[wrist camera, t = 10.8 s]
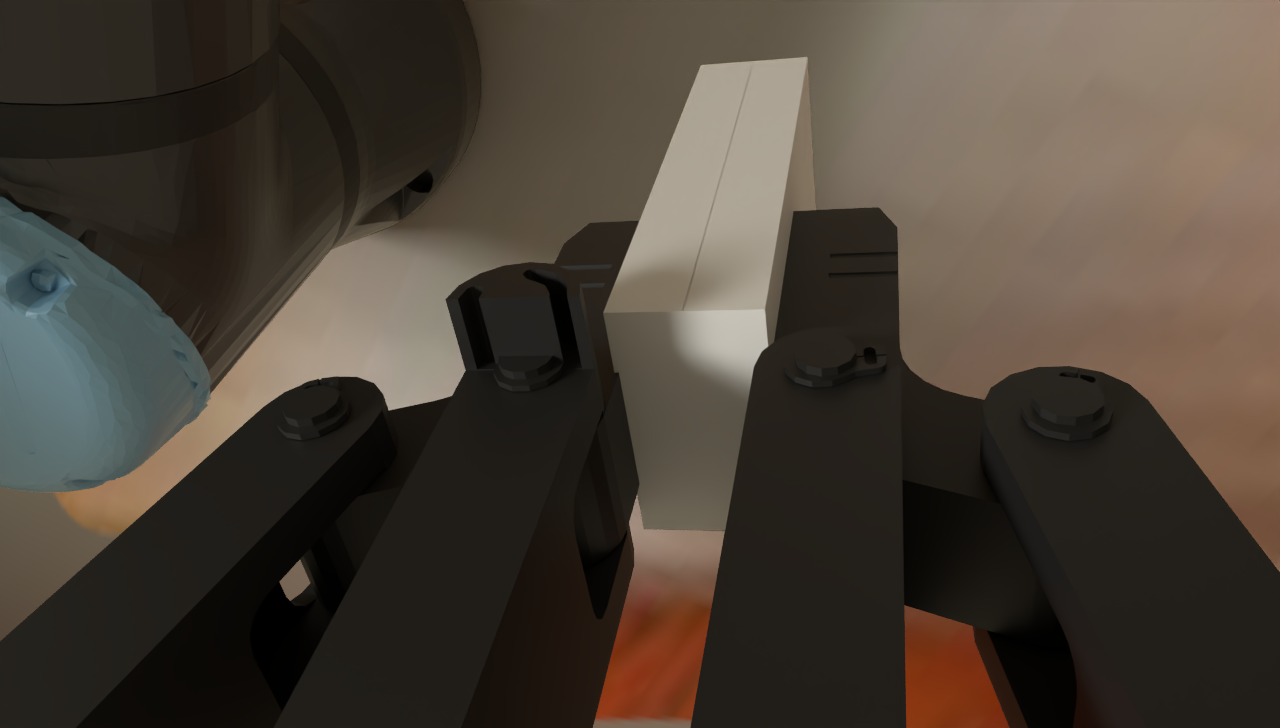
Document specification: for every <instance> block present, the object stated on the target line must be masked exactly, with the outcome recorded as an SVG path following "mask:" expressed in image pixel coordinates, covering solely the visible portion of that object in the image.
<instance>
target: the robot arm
mask: <svg viewBox="0 0 1280 728" xmlns="http://www.w3.org/2000/svg"><path fill="white" fill-rule="evenodd" d="M480 93H481V75H480V63H479V55H478V50H477V45H476V40H475V36H474V33H473V29H472V26H471V23H470V20H469V17H468V14H467V11H466V9H465V7H464V4H463V2H462V0H0V486H1V487H5V488H10V489H15V490H23V491H33V492H70V491H77V490H83V489H89V488H94V487H97V486H99V485H102V484H104V483H105V482H106V481H109V480H115V479H116V478H120V477H123V476H125V475H127V474H129V473H131V472H132V471H134V470H135V469H136V468H138V467H139V466H141V465H142V464H143V463H144V462H145V461H147V460H148V459H149V458H150V457H151V456H152V455H153V454H154V453H155V452H156V451H158V450H159V449H160V448H161V447H162V446H163V445H164V444H165V443H166V442H168V441H169V440H170V439H171V438H172V437H173V436H174V435H175V434H176V433H177V432H179V431H180V430H181V429H182V428H183V427H184V426H185V425H187V424H189V423H191V422H192V421H194V420H195V419H196V418H197V417H198V416H199V414H200V413H201V412H202V411H203V410H204V409H205V408H206V407H207V403H206V402H207V401H208V400H209V399H211V398H210V394H211V392H212V391H213V390H214V389H215V388H216V387H217V385H218V384H219V383H220V382H221V381H222V379H223V378H224V377H225V376H226V375H227V373H228V372H229V371H230V370H231V369H232V367H233V366H234V365H235V364H236V363H237V361H238V360H239V359H240V358H241V357H242V355H243V354H244V353H245V352H246V351H247V350H248V348H249V347H250V346H251V345H252V344H253V342H254V341H255V340H256V339H257V338H258V336H259V335H260V334H261V333H262V332H263V330H264V329H265V328H266V327H267V326H268V324H269V323H270V322H271V321H272V320H273V319H274V317H275V316H276V315H277V314H278V313H279V311H280V310H281V309H282V308H283V307H284V305H285V304H286V303H287V302H288V301H289V299H290V298H291V297H292V296H293V295H294V293H295V292H296V291H297V290H298V289H299V287H300V286H301V285H302V284H303V283H304V282H305V280H306V279H307V278H308V277H309V276H310V274H311V273H312V272H313V271H314V270H315V268H316V267H317V266H318V265H319V264H320V262H321V261H322V260H323V259H324V257H325V256H326V255H327V254H328V252H329V251H330V250H331V249H333V248H336V247H339V246H341V245H344V244H347V243H349V242H352V241H354V240H357V239H360V238H362V237H365V236H368V235H370V234H373V233H376V232H378V231H381V230H383V229H386V228H388V227H390V226H393V225H395V224H397V223H398V222H400V221H402V220H404V219H405V218H407V217H408V216H410V215H411V214H413V213H414V212H415V211H417V210H418V209H419V208H420V207H422V206H423V205H424V204H425V203H426V202H427V201H428V200H429V199H430V198H431V197H432V196H433V195H434V194H435V193H436V192H437V191H438V189H439V188H440V187H441V186H442V184H443V183H444V182H445V180H446V179H447V178H448V176H449V175H450V174H451V172H452V171H453V170H454V168H455V167H456V166H457V164H458V163H459V161H460V160H461V158H462V156H463V154H464V153H465V151H466V149H467V147H468V144H469V142H470V140H471V137H472V134H473V132H474V128H475V125H476V121H477V116H478V111H479V104H480ZM446 302H447V306H448V309H449V313H450V316H451V320H452V323H453V327H454V330H455V334H456V337H457V341H458V345H459V348H460V352H461V355H462V359H463V362H464V366H465V369H466V371H465V373H464V375H463V377H462V379H461V381H460V382H459V384H458V386H457V388H456V390H455V392H454V394H453V395H452V396H451V397H447V398H444V399H440V400H437V401H433V402H428V403H423V404H418V405H414V406H409V407H404V408H399V409H395V410H390V411H389V410H388V407H387V405H386V402H385V399H384V396H383V394H382V393H381V391H380V390H379V389H378V387H377V386H376V385H375V384H374V383H372V382H369V381H366V380H364V379H361V378H358V377H329V378H322V379H321V380H319V379H317V380H313V381H309V382H306V383H304V384H302V385H301V386H298V387H296V388H294V389H291V390H289V391H287V392H284V393H283V394H282V395H280V396H279V397H277V398H276V399H274V400H273V401H271V402H270V403H268V404H267V405H266V406H264V407H263V408H262V409H261V410H260V411H259V412H257V413H256V414H255V415H254V416H253V417H252V418H251V419H250V420H248V421H247V422H246V423H245V424H244V425H243V426H242V427H241V428H239V429H238V430H237V431H236V432H235V433H234V434H233V435H232V436H230V437H229V438H228V439H227V440H226V441H225V442H224V443H223V444H221V445H220V446H219V447H218V448H217V449H216V450H215V451H214V452H212V453H211V454H210V455H209V456H208V457H207V458H206V459H205V460H203V461H202V462H201V463H200V464H199V465H198V466H197V467H196V468H195V469H193V470H192V471H191V472H190V473H189V474H188V475H187V476H186V477H184V478H183V479H182V480H181V481H180V482H179V483H178V484H177V485H175V486H174V487H173V488H172V489H171V490H170V491H169V492H168V493H166V494H165V495H164V496H163V497H162V498H161V499H160V500H159V501H157V502H156V503H155V504H154V505H153V506H152V507H151V508H150V509H148V510H147V511H146V512H145V513H144V514H143V515H142V516H141V517H139V518H138V519H137V520H136V521H135V522H134V523H133V524H132V525H130V526H129V527H128V528H127V529H126V530H125V531H124V532H123V533H121V534H120V535H119V536H118V537H117V538H116V539H115V540H114V541H112V542H111V543H110V544H109V545H108V546H107V547H106V548H105V549H104V550H102V551H101V552H100V553H99V554H98V555H97V556H96V557H95V558H94V559H92V560H91V561H90V562H89V563H88V564H87V565H86V566H84V567H83V568H82V569H81V570H80V571H79V572H78V573H77V574H75V575H74V576H73V577H72V578H71V579H70V580H69V581H68V582H66V583H65V584H64V585H63V586H62V587H61V588H60V589H59V590H58V591H56V592H55V593H54V594H53V595H52V596H51V597H50V598H49V599H47V600H46V601H45V602H44V603H43V604H42V605H41V606H39V607H38V608H37V609H36V610H35V611H34V612H33V613H32V614H30V615H29V616H28V617H27V618H26V619H25V620H24V621H23V622H21V623H20V624H19V625H18V626H17V627H16V628H15V629H14V630H12V631H11V632H10V633H9V634H8V635H7V636H6V637H5V638H4V639H2V640H1V641H0V728H593V724H594V720H595V716H596V712H597V709H598V705H599V701H600V697H601V693H602V689H603V685H604V681H605V677H606V673H607V669H608V665H609V662H610V658H611V654H612V650H613V646H614V642H615V638H616V634H617V630H618V626H619V622H620V619H621V615H622V611H623V607H624V603H625V599H626V595H627V591H628V587H629V583H630V579H631V576H632V572H633V568H634V547H633V542H632V537H631V532H630V527H629V520H630V517H631V513H632V510H633V506H634V502H635V499H636V495H637V494H638V500H639V505H640V510H641V515H642V521H643V526H644V529H664V530H703V531H725V534H724V540H723V546H722V551H721V557H720V563H719V569H718V574H717V580H716V586H715V591H714V597H713V603H712V608H711V614H710V620H709V626H708V631H707V637H706V643H705V648H704V654H703V660H702V665H701V671H700V677H699V683H698V688H697V694H696V700H695V705H694V711H693V717H692V722H691V728H906V687H905V621H904V605H906V606H909V607H913V608H916V609H919V610H922V611H926V612H929V613H932V614H936V615H939V616H942V617H945V618H949V619H952V620H955V621H958V622H962V623H965V624H968V625H972V626H973V631H974V638H975V643H976V646H977V648H978V651H979V653H980V655H981V658H982V660H983V663H984V665H985V668H986V670H987V673H988V675H989V678H990V680H991V683H992V685H993V688H994V690H995V693H996V695H997V698H998V700H999V703H1000V705H1001V708H1002V710H1003V712H1004V715H1005V717H1006V720H1007V722H1008V725H1009V727H1010V728H1280V572H1279V571H1278V570H1277V568H1276V567H1275V566H1274V564H1273V563H1272V562H1271V560H1270V559H1269V558H1268V556H1267V555H1266V554H1265V553H1264V551H1263V550H1262V549H1261V547H1260V546H1259V545H1258V543H1257V542H1256V541H1255V539H1254V538H1253V537H1252V536H1251V534H1250V533H1249V532H1248V530H1247V529H1246V528H1245V526H1244V525H1243V524H1242V522H1241V521H1240V520H1239V519H1238V517H1237V516H1236V515H1235V513H1234V512H1233V511H1232V509H1231V508H1230V507H1229V505H1228V504H1227V503H1226V502H1225V500H1224V499H1223V498H1222V496H1221V495H1220V494H1219V492H1218V491H1217V490H1216V488H1215V487H1214V486H1213V485H1212V483H1211V482H1210V481H1209V479H1208V478H1207V477H1206V475H1205V474H1204V473H1203V471H1202V470H1201V469H1200V468H1199V466H1198V465H1197V464H1196V462H1195V461H1194V460H1193V458H1192V457H1191V456H1190V454H1189V453H1188V452H1187V451H1186V449H1185V448H1184V447H1183V445H1182V444H1181V443H1180V441H1179V440H1178V439H1177V437H1176V436H1175V435H1174V434H1173V432H1172V431H1171V430H1170V428H1169V427H1168V426H1167V424H1166V423H1165V422H1164V420H1163V419H1162V418H1161V417H1160V415H1159V414H1158V413H1157V411H1156V410H1155V409H1154V407H1153V406H1152V405H1151V403H1150V402H1149V401H1148V400H1147V399H1146V398H1145V397H1143V396H1142V395H1141V394H1140V393H1139V392H1138V391H1136V390H1135V389H1134V388H1133V387H1132V386H1131V385H1130V384H1128V383H1125V382H1123V381H1121V380H1119V379H1116V378H1114V377H1112V376H1109V375H1107V374H1105V373H1102V372H1098V371H1093V370H1087V369H1082V368H1076V367H1071V366H1062V367H1037V368H1033V369H1030V370H1026V371H1022V372H1019V373H1015V374H1011V375H1009V376H1008V377H1006V378H1005V379H1003V380H1002V381H1001V382H999V383H998V384H996V385H995V386H993V387H992V388H991V389H990V391H989V393H988V395H987V397H986V399H985V400H982V399H977V398H972V397H967V396H963V395H959V394H956V393H952V392H949V391H945V390H942V389H940V388H938V387H936V386H934V385H931V384H929V383H927V382H925V381H924V380H922V379H921V378H920V377H918V376H917V375H916V374H915V373H913V372H912V371H911V370H910V369H909V367H908V366H907V365H906V363H905V362H904V360H903V359H902V355H901V351H900V342H899V291H898V240H897V227H896V226H895V225H894V224H893V222H892V221H891V220H890V219H889V218H888V217H887V216H886V215H885V214H884V213H883V212H882V211H881V209H880V208H879V207H878V208H855V209H831V210H816V202H815V184H814V166H813V147H812V129H811V111H810V92H809V74H808V57H800V58H787V59H774V60H761V61H748V62H734V63H721V64H708V65H701V66H700V69H699V71H698V74H697V76H696V79H695V81H694V84H693V86H692V89H691V92H690V94H689V97H688V99H687V102H686V104H685V107H684V109H683V112H682V114H681V117H680V119H679V122H678V125H677V127H676V130H675V132H674V135H673V137H672V140H671V142H670V145H669V147H668V150H667V152H666V155H665V157H664V160H663V163H662V165H661V168H660V170H659V173H658V175H657V178H656V180H655V183H654V185H653V188H652V190H651V193H650V196H649V198H648V201H647V203H646V206H645V208H644V211H643V213H642V216H641V218H640V221H624V222H601V223H590V224H588V225H587V226H586V227H585V228H583V229H582V230H581V231H580V232H578V233H577V234H576V235H575V236H573V237H572V238H571V239H570V240H568V241H567V242H566V243H565V244H564V245H563V247H562V249H561V251H560V253H559V255H558V258H557V260H556V262H555V264H547V263H533V262H529V263H521V264H514V265H506V266H502V267H499V268H496V269H493V270H490V271H487V272H484V273H481V274H478V275H477V276H475V277H473V278H471V279H470V280H468V281H466V282H464V283H463V284H461V285H459V286H458V287H457V288H456V289H455V290H454V291H453V292H452V293H451V294H450V295H449V296H448V298H447V299H446ZM299 560H301V562H302V565H303V567H304V569H305V571H306V573H307V576H308V578H309V580H310V585H309V586H308V587H307V588H306V589H305V590H304V591H303V592H302V593H301V594H300V595H298V596H297V597H295V598H294V599H293V600H291V601H289V599H288V598H287V597H286V595H285V594H284V592H283V589H282V587H281V585H280V583H279V581H280V580H281V579H282V578H283V577H284V576H285V575H286V574H287V573H288V572H289V570H290V569H291V568H292V567H293V566H294V565H295V564H296V562H298V561H299Z"/></svg>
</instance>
